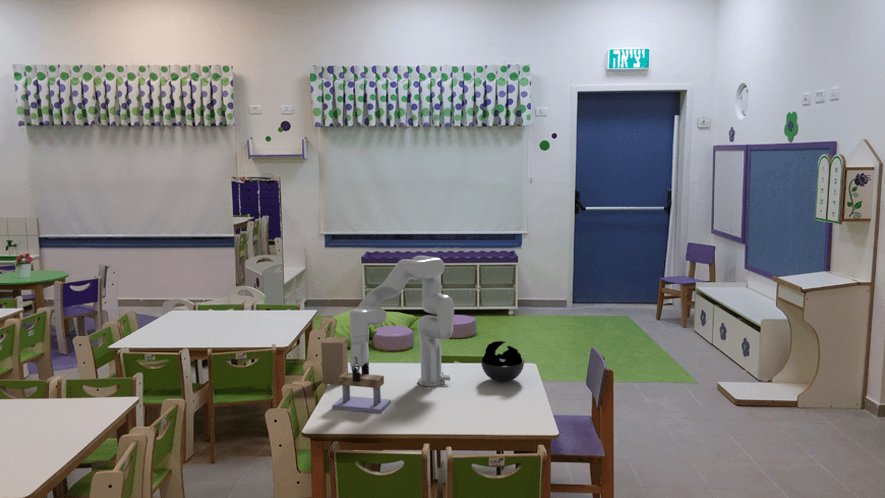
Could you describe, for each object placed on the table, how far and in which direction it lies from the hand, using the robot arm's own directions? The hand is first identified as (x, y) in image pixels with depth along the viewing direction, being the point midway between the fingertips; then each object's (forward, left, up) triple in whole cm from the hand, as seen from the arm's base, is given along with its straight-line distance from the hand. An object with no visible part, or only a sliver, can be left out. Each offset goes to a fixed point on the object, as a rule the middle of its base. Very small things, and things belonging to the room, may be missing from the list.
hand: (360, 377), depth 293 cm
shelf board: (0, 0, -3) cm, 3 cm away
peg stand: (0, 0, -12) cm, 12 cm away
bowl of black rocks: (-52, -45, -12) cm, 70 cm away
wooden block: (+25, -28, -12) cm, 40 cm away
